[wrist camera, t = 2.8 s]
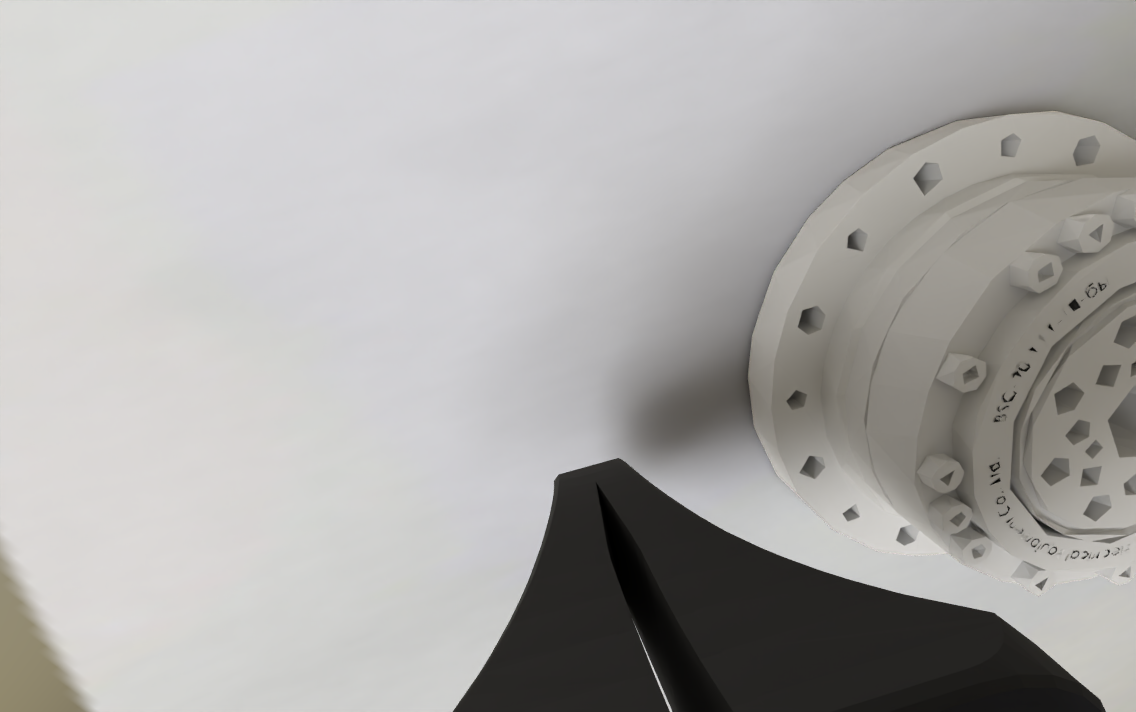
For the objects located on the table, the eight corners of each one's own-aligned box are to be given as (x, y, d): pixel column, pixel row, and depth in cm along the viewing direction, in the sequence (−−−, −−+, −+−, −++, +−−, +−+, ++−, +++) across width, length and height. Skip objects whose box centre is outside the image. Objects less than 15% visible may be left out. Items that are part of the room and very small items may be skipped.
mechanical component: (1155, 394, 14) (1077, 24, 11) (1425, 477, 10) (1424, -72, 7) (832, 585, 15) (668, 280, 12) (967, 740, 11) (769, 331, 7)
